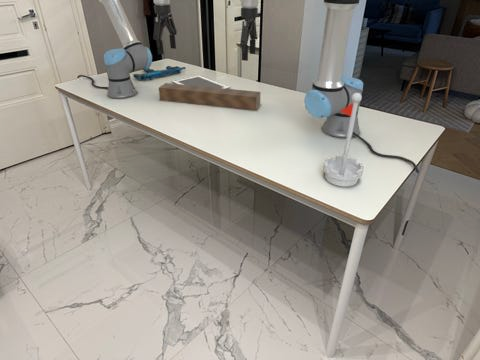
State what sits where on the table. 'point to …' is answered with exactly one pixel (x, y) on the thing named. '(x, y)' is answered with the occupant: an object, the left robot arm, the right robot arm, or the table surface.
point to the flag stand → (345, 155)
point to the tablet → (200, 82)
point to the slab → (210, 96)
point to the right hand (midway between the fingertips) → (248, 57)
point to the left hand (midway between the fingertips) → (167, 51)
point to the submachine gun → (157, 72)
